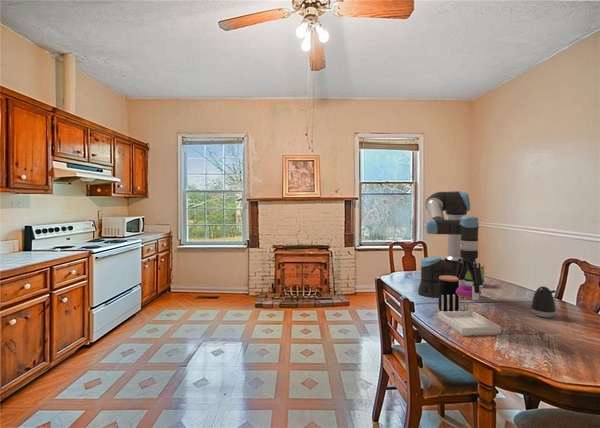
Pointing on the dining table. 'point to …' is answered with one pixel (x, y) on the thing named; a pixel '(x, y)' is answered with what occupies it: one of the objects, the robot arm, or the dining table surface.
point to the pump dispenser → (543, 302)
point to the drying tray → (469, 323)
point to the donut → (465, 292)
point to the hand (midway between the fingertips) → (468, 296)
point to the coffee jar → (448, 291)
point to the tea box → (469, 280)
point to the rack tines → (453, 303)
